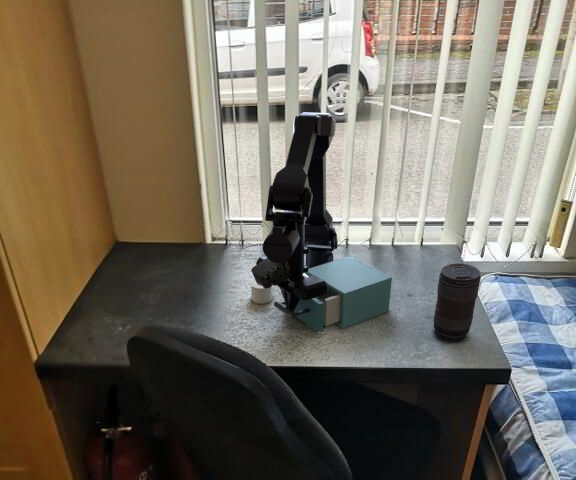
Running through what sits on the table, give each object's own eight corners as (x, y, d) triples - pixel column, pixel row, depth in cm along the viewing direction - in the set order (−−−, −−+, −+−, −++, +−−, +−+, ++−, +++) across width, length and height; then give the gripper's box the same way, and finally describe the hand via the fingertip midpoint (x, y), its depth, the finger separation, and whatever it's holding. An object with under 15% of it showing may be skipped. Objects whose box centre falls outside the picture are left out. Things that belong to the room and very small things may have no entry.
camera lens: (426, 326, 127) (435, 263, 118) (461, 324, 127) (473, 261, 118) (436, 345, 120) (447, 280, 111) (474, 343, 121) (488, 278, 112)
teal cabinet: (342, 328, 126) (344, 293, 121) (304, 303, 136) (304, 269, 131) (388, 311, 133) (392, 277, 127) (348, 288, 142) (350, 255, 137)
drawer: (300, 339, 121) (300, 310, 117) (266, 313, 130) (265, 286, 126) (363, 315, 129) (365, 288, 125) (327, 293, 138) (328, 267, 134)
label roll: (247, 300, 138) (246, 284, 135) (260, 292, 141) (259, 277, 139) (263, 305, 136) (262, 290, 133) (275, 297, 139) (275, 282, 136)
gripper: (232, 237, 119) (237, 305, 128) (282, 268, 106) (284, 340, 115) (277, 226, 124) (279, 291, 133) (330, 254, 111) (328, 324, 120)
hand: (291, 311), depth 125 cm, fingers closed, pressing on drawer
